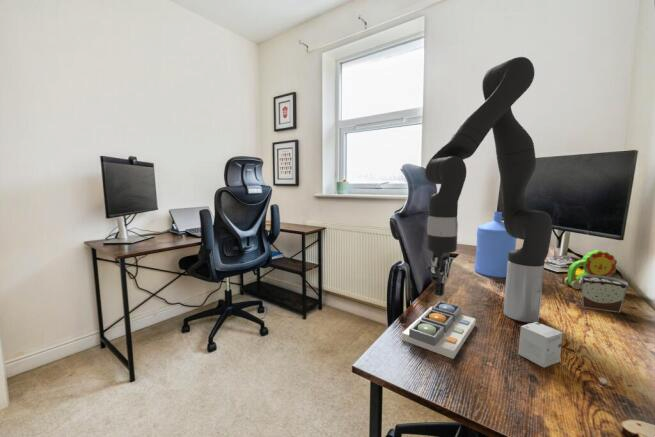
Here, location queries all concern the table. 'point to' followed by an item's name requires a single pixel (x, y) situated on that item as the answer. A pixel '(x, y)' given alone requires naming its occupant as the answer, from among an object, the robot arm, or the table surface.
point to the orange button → (437, 317)
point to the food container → (603, 292)
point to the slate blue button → (447, 308)
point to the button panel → (441, 331)
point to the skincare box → (540, 344)
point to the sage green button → (427, 329)
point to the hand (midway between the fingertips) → (439, 294)
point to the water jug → (493, 248)
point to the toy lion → (591, 267)
